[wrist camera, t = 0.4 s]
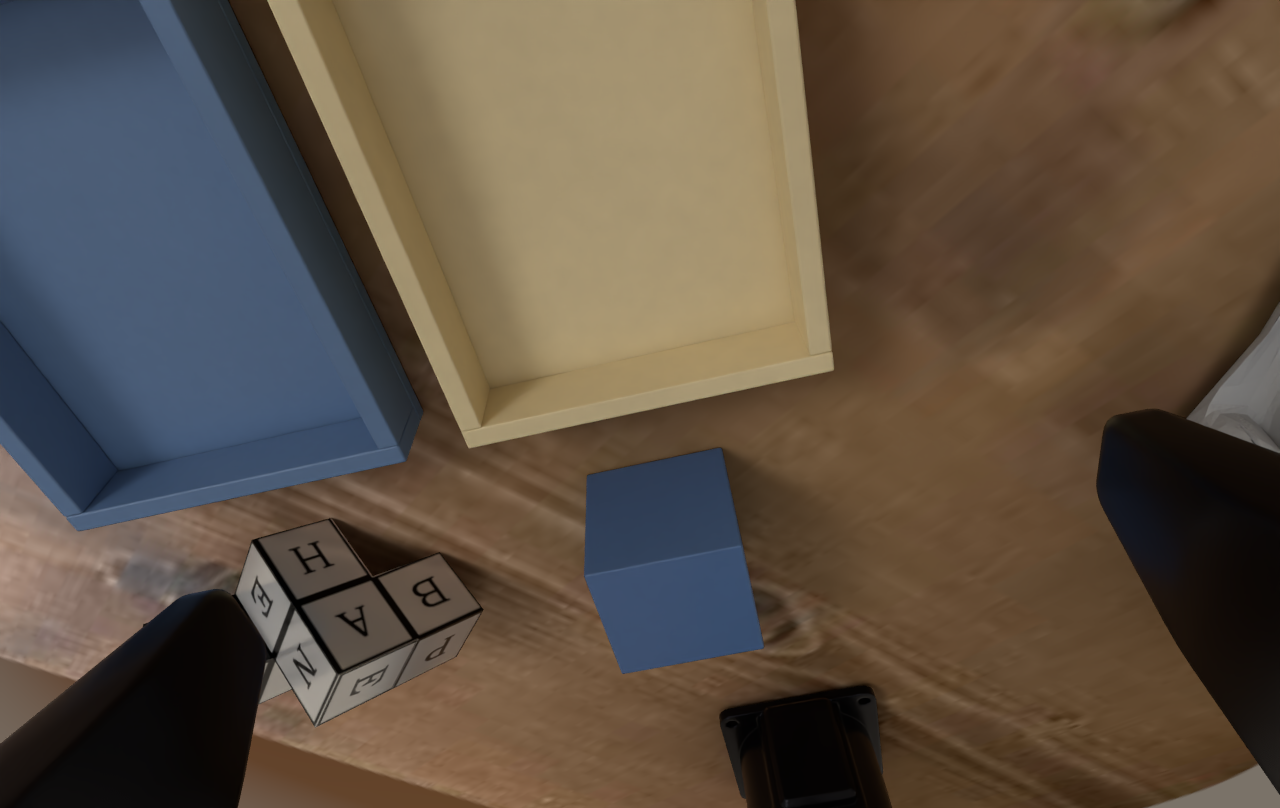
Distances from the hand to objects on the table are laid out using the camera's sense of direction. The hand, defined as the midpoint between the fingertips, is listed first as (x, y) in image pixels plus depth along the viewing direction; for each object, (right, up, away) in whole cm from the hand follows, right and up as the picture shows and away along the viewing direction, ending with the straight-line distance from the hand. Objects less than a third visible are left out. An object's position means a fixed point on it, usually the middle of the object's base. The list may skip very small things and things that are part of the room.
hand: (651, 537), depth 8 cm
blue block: (+1, -2, +18) cm, 19 cm away
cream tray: (-2, +8, +12) cm, 14 cm away
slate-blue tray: (-13, +5, +13) cm, 19 cm away
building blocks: (-11, -5, +20) cm, 23 cm away
